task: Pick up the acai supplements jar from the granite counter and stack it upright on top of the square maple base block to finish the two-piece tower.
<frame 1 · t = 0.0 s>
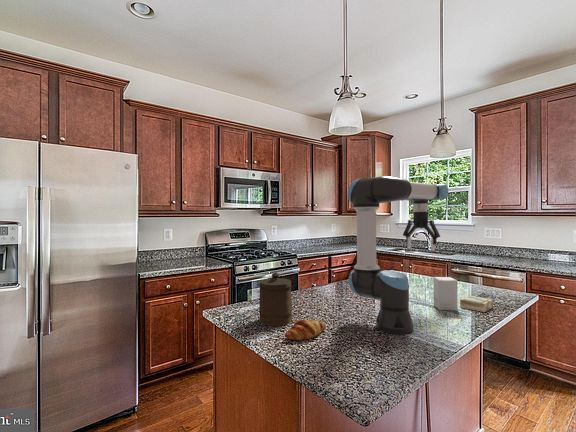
hand: (420, 249, 174), 28 cm above the countertop, tool pointing down, fingers open, 13 cm apart
base block: (476, 307, 159), on the countertop
wooden container: (275, 321, 144), on the countertop
croissant: (307, 336, 126), on the countertop
supplement box: (445, 308, 159), on the countertop
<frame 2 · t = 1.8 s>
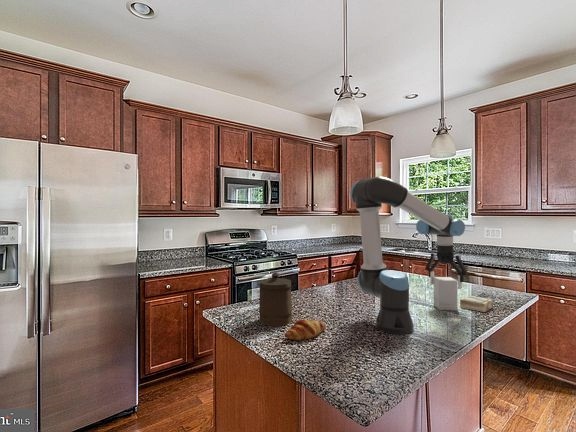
hand: (445, 286, 159), 11 cm above the countertop, tool pointing down, fingers open, 13 cm apart
nothing on the countertop moved.
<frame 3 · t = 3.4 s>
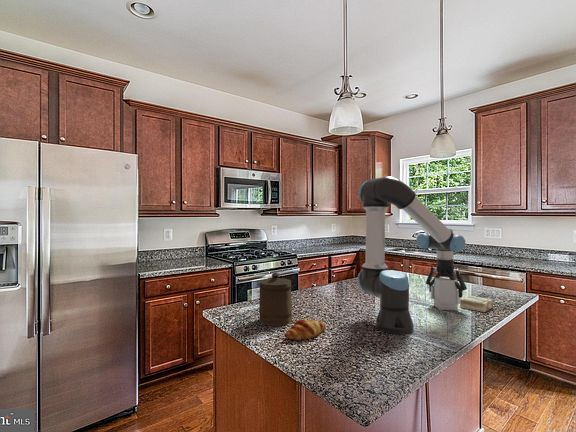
hand: (445, 301, 159), 3 cm above the countertop, tool pointing down, fingers closed on supplement box, 12 cm apart
supplement box: (445, 308, 159), on the countertop, touching gripper
everything else where it was.
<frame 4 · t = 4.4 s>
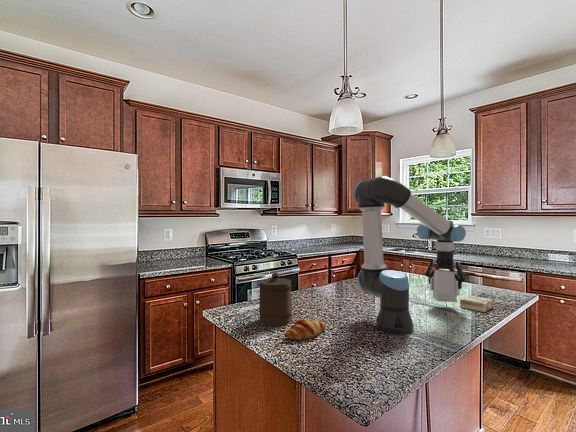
hand: (444, 292, 159), 8 cm above the countertop, tool pointing down, fingers closed on supplement box, 12 cm apart
supplement box: (444, 300, 159), point 4 cm above the countertop, touching gripper
everything else where it was.
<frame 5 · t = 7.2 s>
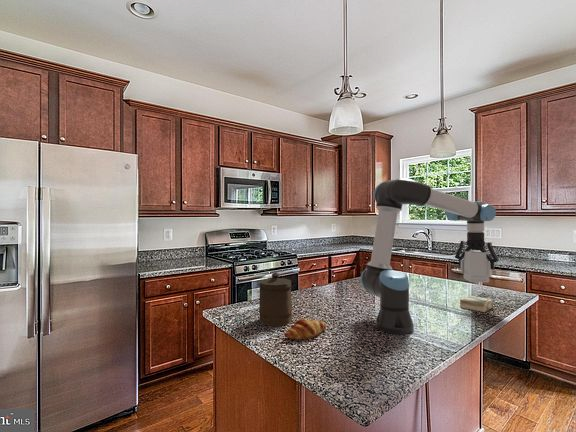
hand: (475, 274, 159), 17 cm above the countertop, tool pointing down, fingers closed on supplement box, 12 cm apart
supplement box: (476, 281, 159), point 13 cm above the countertop, touching gripper
everything else where it was.
when the fingers open (9 cm above the countertop, at t = 9.6 s): supplement box drops 1 cm, resting on base block.
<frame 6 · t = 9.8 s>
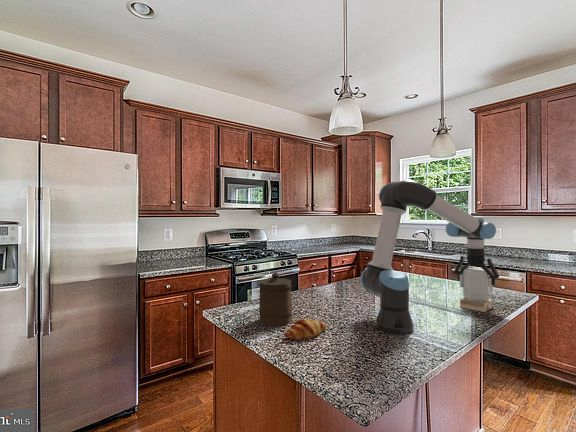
hand: (475, 289, 159), 9 cm above the countertop, tool pointing down, fingers open, 13 cm apart
supplement box: (475, 299, 159), point 4 cm above the countertop, touching base block
everything else where it was.
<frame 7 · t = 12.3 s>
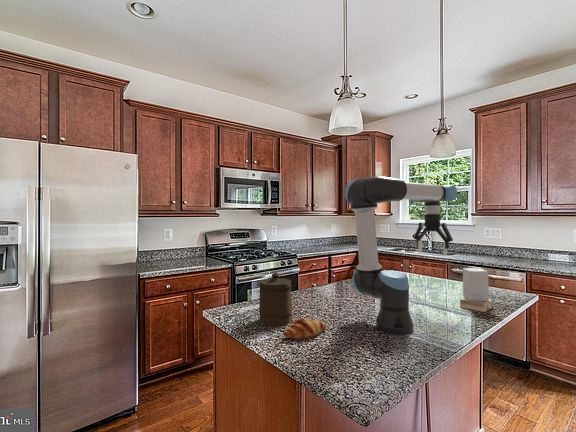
hand: (432, 253, 166), 27 cm above the countertop, tool pointing down, fingers open, 13 cm apart
nothing on the countertop moved.
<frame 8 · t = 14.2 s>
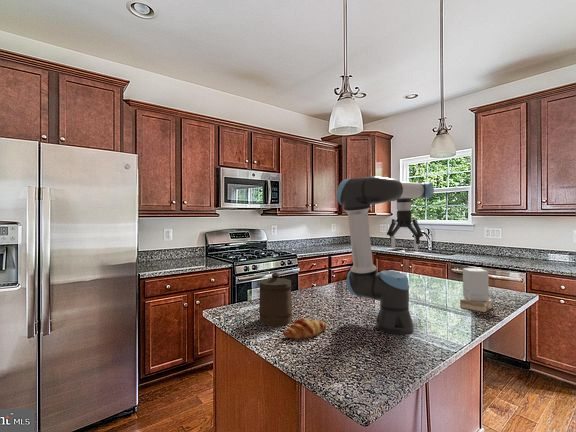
hand: (404, 249, 172), 29 cm above the countertop, tool pointing down, fingers open, 13 cm apart
nothing on the countertop moved.
at the end: supplement box inside the target area on the base block (0.2 cm from its centre), point 4.1 cm above the base block's base; supplement box tilted 0°; the gripper is holding nothing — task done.
